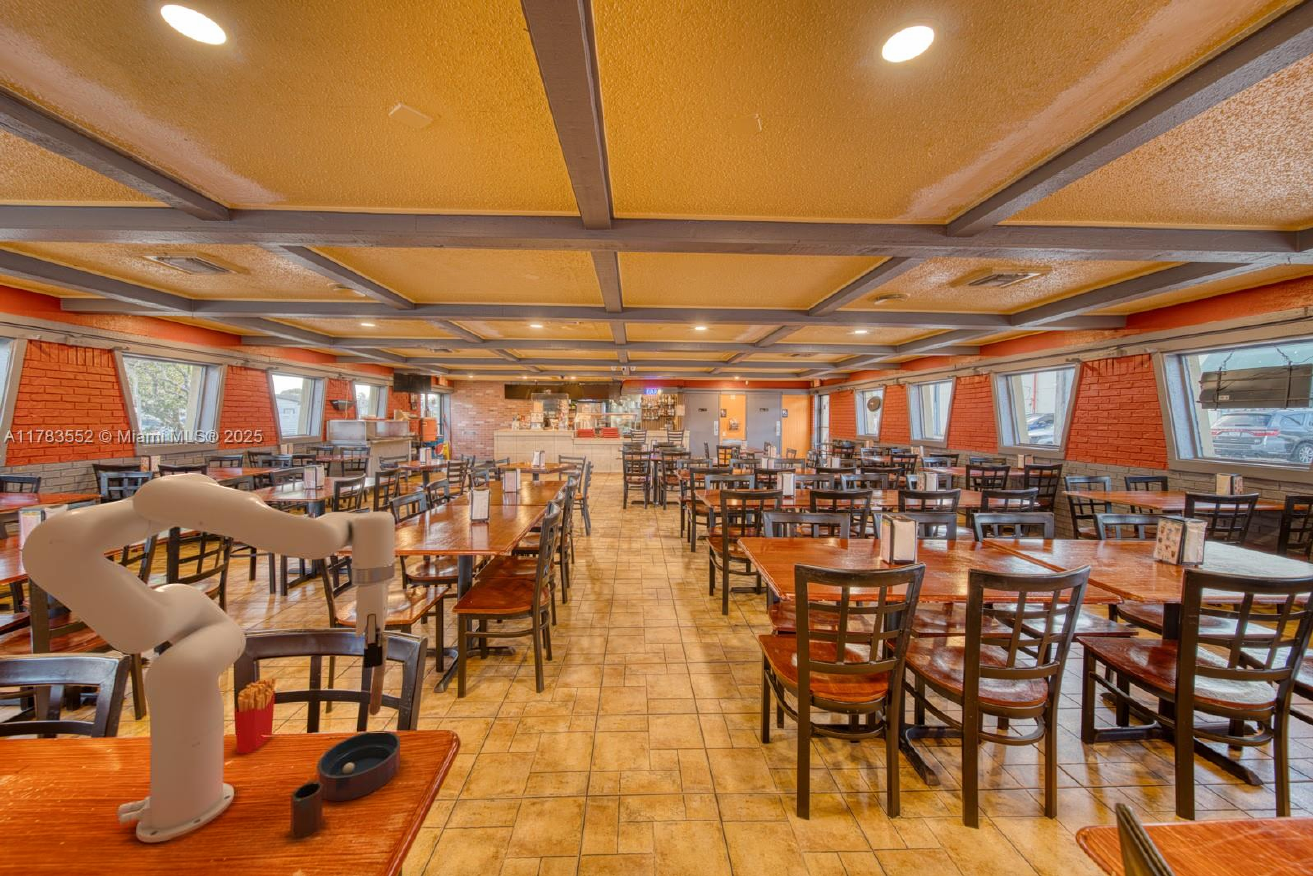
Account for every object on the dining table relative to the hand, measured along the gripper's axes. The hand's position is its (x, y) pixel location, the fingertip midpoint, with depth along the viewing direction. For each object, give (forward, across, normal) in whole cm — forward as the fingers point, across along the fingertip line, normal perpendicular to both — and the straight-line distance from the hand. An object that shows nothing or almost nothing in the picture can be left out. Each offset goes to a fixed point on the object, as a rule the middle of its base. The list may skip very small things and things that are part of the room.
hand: (373, 662), depth 95 cm
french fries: (+23, -24, -25) cm, 41 cm away
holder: (+23, +10, -9) cm, 27 cm away
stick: (+11, 0, 0) cm, 11 cm away
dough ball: (+21, -2, -5) cm, 22 cm away
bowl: (+23, -1, -2) cm, 23 cm away
